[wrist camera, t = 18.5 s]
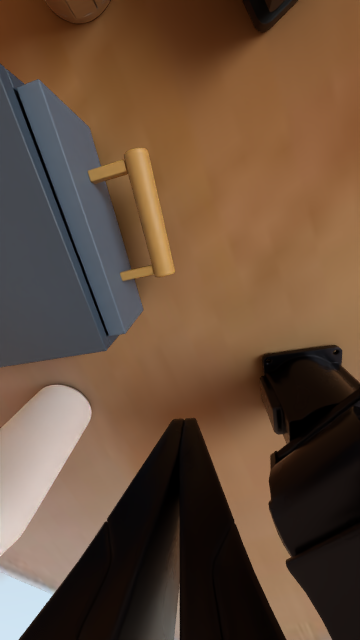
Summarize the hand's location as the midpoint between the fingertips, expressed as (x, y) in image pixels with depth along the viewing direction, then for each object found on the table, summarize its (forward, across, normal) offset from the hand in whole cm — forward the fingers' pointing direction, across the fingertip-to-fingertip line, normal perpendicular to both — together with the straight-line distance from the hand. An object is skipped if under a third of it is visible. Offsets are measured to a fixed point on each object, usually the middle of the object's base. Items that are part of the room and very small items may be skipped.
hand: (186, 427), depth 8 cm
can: (+12, +16, +9) cm, 22 cm away
